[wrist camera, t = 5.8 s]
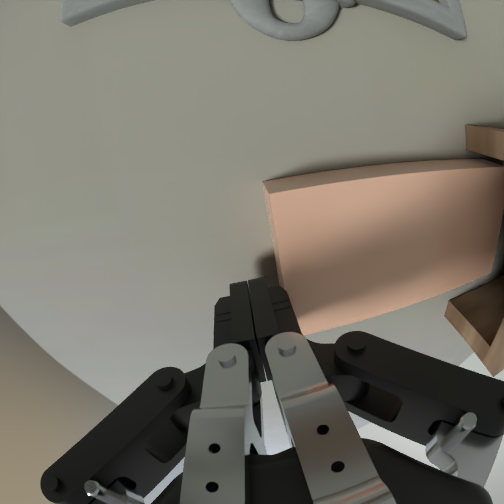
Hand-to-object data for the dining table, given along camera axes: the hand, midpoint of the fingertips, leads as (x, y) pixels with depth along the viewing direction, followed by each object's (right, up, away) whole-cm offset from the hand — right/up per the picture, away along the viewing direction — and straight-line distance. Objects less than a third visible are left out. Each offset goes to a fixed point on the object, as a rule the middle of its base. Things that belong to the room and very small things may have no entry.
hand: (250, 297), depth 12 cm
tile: (+7, +3, +1) cm, 8 cm away
